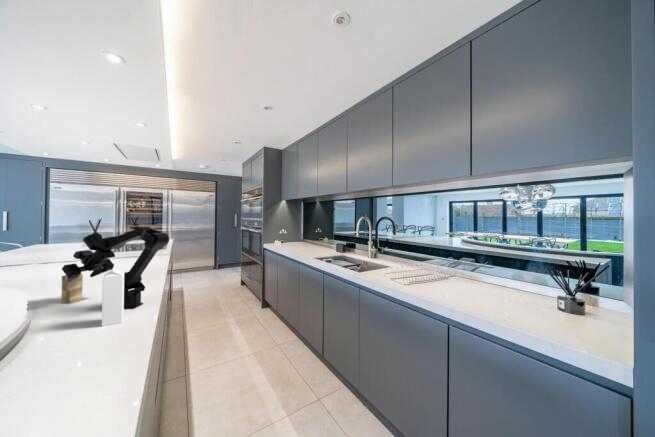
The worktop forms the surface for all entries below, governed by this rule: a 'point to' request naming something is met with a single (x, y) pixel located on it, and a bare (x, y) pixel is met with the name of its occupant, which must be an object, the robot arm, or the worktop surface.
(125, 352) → the worktop surface
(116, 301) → the milk
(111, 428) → the worktop surface
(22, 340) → the worktop surface
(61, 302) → the tile
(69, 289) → the oak block
